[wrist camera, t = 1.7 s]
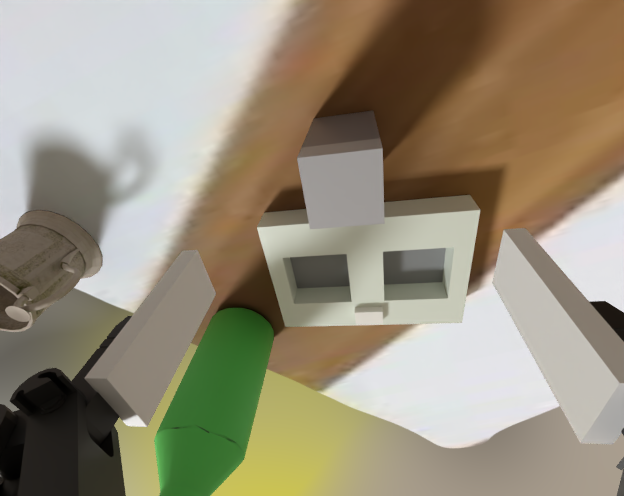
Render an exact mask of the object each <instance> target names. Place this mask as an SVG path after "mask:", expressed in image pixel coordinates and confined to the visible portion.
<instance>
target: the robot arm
mask: <svg viewBox="0 0 624 496" xmlns="http://www.w3.org/2000/svg"><path fill="white" fill-rule="evenodd" d="M492 283H493V285H494V287H495V289H496V290H497V292H498V294H499V296H500V298H501V299H502V301H503V303H504V305H505V307H506V309H507V310H508V312H509V314H510V316H511V318H512V319H513V321H514V323H515V325H516V327H517V329H518V330H519V332H520V334H521V336H522V338H523V339H524V341H525V343H526V345H527V347H528V349H529V350H530V352H531V354H532V356H533V358H534V359H535V361H536V363H537V365H538V367H539V369H540V370H541V372H542V374H543V376H544V378H545V379H546V381H547V383H548V385H549V387H550V389H551V390H552V392H553V394H554V396H555V398H556V399H557V401H558V403H559V405H560V407H561V408H562V410H563V412H564V414H565V416H566V417H567V419H568V421H569V423H570V425H571V427H572V428H573V430H574V432H575V434H576V436H577V438H578V439H579V441H580V443H590V444H613V443H614V442H615V441H616V440H617V438H618V437H619V436H620V435H621V433H622V434H623V435H624V313H623V312H622V311H620V310H619V309H617V308H615V307H614V306H612V305H611V304H609V303H607V302H606V301H597V302H589V301H588V300H587V299H586V298H585V297H584V295H583V294H582V293H581V292H580V291H579V290H578V289H577V287H576V286H575V285H574V284H573V283H572V282H571V280H570V279H569V278H568V277H567V276H566V275H565V274H564V272H563V271H562V270H561V269H560V268H559V267H558V265H557V264H556V263H555V262H554V261H553V260H552V259H551V257H550V256H549V255H548V254H547V253H546V252H545V250H544V249H543V248H542V247H541V246H540V245H539V244H538V242H537V241H536V240H535V239H534V238H533V237H532V235H531V234H530V233H529V232H528V231H527V230H526V229H525V228H520V229H505V230H504V231H503V236H502V240H501V245H500V250H499V254H498V259H497V264H496V268H495V273H494V278H493V282H492ZM215 295H216V293H215V290H214V288H213V286H212V283H211V281H210V279H209V276H208V274H207V271H206V269H205V267H204V264H203V262H202V260H201V257H200V255H199V252H198V250H190V251H182V252H181V254H180V255H179V256H178V257H177V259H176V260H175V261H174V263H173V264H172V265H171V266H170V268H169V269H168V270H167V272H166V273H165V274H164V276H163V277H162V278H161V279H160V281H159V282H158V283H157V285H156V286H155V287H154V288H153V290H152V291H151V292H150V294H149V295H148V296H147V298H146V299H145V300H144V301H143V303H142V304H141V305H140V307H139V308H138V309H137V311H136V312H135V313H134V314H133V316H128V317H126V318H125V319H124V320H123V321H121V322H120V323H119V324H118V325H116V326H115V328H114V329H113V330H112V331H111V333H110V334H109V335H108V336H107V339H105V340H104V341H103V343H102V344H101V345H100V348H99V349H97V350H96V351H95V353H94V354H93V355H92V356H91V358H90V359H89V360H88V361H87V363H86V364H85V366H83V368H82V369H81V370H80V371H79V373H78V374H77V375H76V376H75V378H74V379H73V380H72V381H70V380H69V379H68V377H67V376H66V375H65V374H64V373H63V372H62V371H61V370H59V369H57V368H52V369H46V370H44V371H41V372H38V373H37V374H35V375H33V376H32V377H30V378H28V379H27V380H26V381H25V382H24V383H22V384H21V385H20V386H19V387H18V389H17V390H16V391H15V392H14V393H13V395H12V397H11V399H10V402H11V403H13V404H14V405H15V406H16V407H17V408H19V409H20V410H18V411H14V412H12V411H11V410H10V409H9V408H7V407H6V406H5V405H2V404H0V496H126V495H125V487H124V479H123V471H122V463H121V456H120V448H119V440H118V432H117V430H116V428H115V427H114V424H115V423H116V421H117V420H118V418H119V417H120V418H121V419H122V420H123V422H124V423H125V424H126V425H127V426H141V427H147V426H148V424H149V422H150V420H151V418H152V416H153V415H154V413H155V411H156V409H157V407H158V405H159V403H160V401H161V399H162V397H163V395H164V393H165V391H166V390H167V388H168V386H169V384H170V382H171V380H172V378H173V376H174V374H175V372H176V370H177V368H178V366H179V364H180V363H181V361H182V359H183V357H184V355H185V353H186V351H187V349H188V347H189V345H190V343H191V341H192V339H193V337H194V336H195V334H196V332H197V330H198V328H199V326H200V324H201V322H202V320H203V318H204V316H205V314H206V312H207V310H208V309H209V307H210V305H211V303H212V301H213V299H214V297H215ZM616 467H617V468H619V469H620V470H622V469H623V468H624V457H623V459H622V460H621V461H620V462H619V464H618V465H617V466H616ZM617 496H624V469H623V473H622V477H621V481H620V485H619V489H618V493H617Z"/></svg>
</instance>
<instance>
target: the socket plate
mask: <svg viewBox="0 0 624 496" xmlns="http://www.w3.org/2000/svg"><path fill="white" fill-rule="evenodd" d="M479 216H480V209H479V207H478V206H477V204H476V203H475V201H474V200H473V199H472V197H471V196H470V195H461V196H450V197H438V198H426V199H415V200H403V201H392V202H384V223H385V224H374V225H361V226H347V227H334V228H321V229H310V227H309V221H308V216H307V210H306V209H300V210H288V211H277V212H265V213H264V214H263V216H262V218H261V220H260V222H259V224H258V226H257V230H258V233H259V236H260V240H261V243H262V247H263V250H264V254H265V257H266V261H267V264H268V268H269V271H270V275H271V278H272V282H273V285H274V289H275V292H276V296H277V299H278V303H279V306H280V310H281V313H282V317H283V320H284V324H285V327H302V326H345V325H389V324H432V323H462V319H463V313H464V307H465V301H466V295H467V289H468V283H469V277H470V271H471V264H472V258H473V252H474V246H475V240H476V234H477V228H478V222H479Z"/></svg>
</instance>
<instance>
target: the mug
mask: <svg viewBox="0 0 624 496" xmlns="http://www.w3.org/2000/svg"><path fill="white" fill-rule="evenodd" d="M101 266H102V255H101V252H100V249H99V247H98V245H97V244H96V242H95V241H94V240H93V238H92V237H91V235H90V234H88V233H87V232H86V231H85V230H84V229H83V228H82V227H81V226H80V225H78V224H76V223H75V222H73V221H72V220H70V219H68V218H67V217H65V216H62V215H59V214H56V213H54V212H50V211H42V210H36V211H31V212H27V213H25V214H24V215H23V216H22V217H21V218H19V221H18V224H17V229H15V230H14V231H13V232H12V233H10V234H8V235H7V236H5V237H3V238H2V239H0V330H2V331H9V332H20V331H24V330H27V329H28V328H30V327H31V326H32V325H33V324H34V323H35V321H36V319H37V318H38V317H39V316H40V315H41V314H42V313H43V312H44V311H45V310H46V309H47V308H48V307H49V306H51V305H52V304H53V303H55V302H57V301H58V300H60V299H61V298H62V297H64V296H65V295H66V294H68V293H69V292H70V291H71V290H72V289H73V288H74V287H75V286H76V284H77V283H78V282H79V280H80V279H81V278H88V277H91V276H93V275H95V274H97V273H98V272H99V270H100V268H101Z"/></svg>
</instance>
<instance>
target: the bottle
mask: <svg viewBox="0 0 624 496" xmlns="http://www.w3.org/2000/svg"><path fill="white" fill-rule="evenodd" d="M273 340H274V331H273V329H272V327H271V325H270V323H269V322H268V321H267V320H266V319H265V318H264V317H263V316H261V315H260V314H258V313H256V312H254V311H252V310H249V309H245V308H227V309H224V310H220V311H219V312H217V313H216V314H215V315H214V316H213V317H212V319H211V321H210V323H209V325H208V327H207V329H206V331H205V333H204V335H203V338H202V340H201V342H200V344H199V346H198V348H197V350H196V352H195V354H194V356H193V358H192V360H191V362H190V364H189V366H188V369H187V371H186V373H185V375H184V377H183V379H182V381H181V383H180V385H179V387H178V389H177V391H176V394H175V396H174V398H173V400H172V402H171V404H170V406H169V408H168V410H167V412H166V414H165V417H164V419H163V421H162V423H161V425H160V427H159V429H158V431H157V434H156V436H155V440H154V441H155V449H156V457H157V466H158V474H159V482H160V491H161V492H160V496H210V495H211V494H212V493H213V492H214V491H215V490H216V489H217V488H218V487H219V486H220V485H221V484H222V483H223V482H224V481H225V480H226V479H227V477H229V475H230V474H231V473H232V472H233V471H234V470H235V469H236V468H237V467H238V466H239V465H240V464H241V462H242V461H243V460H244V457H245V453H246V449H247V445H248V441H249V437H250V433H251V429H252V425H253V421H254V417H255V413H256V409H257V405H258V401H259V397H260V393H261V389H262V385H263V381H264V377H265V373H266V369H267V365H268V360H269V356H270V352H271V348H272V344H273Z"/></svg>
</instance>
